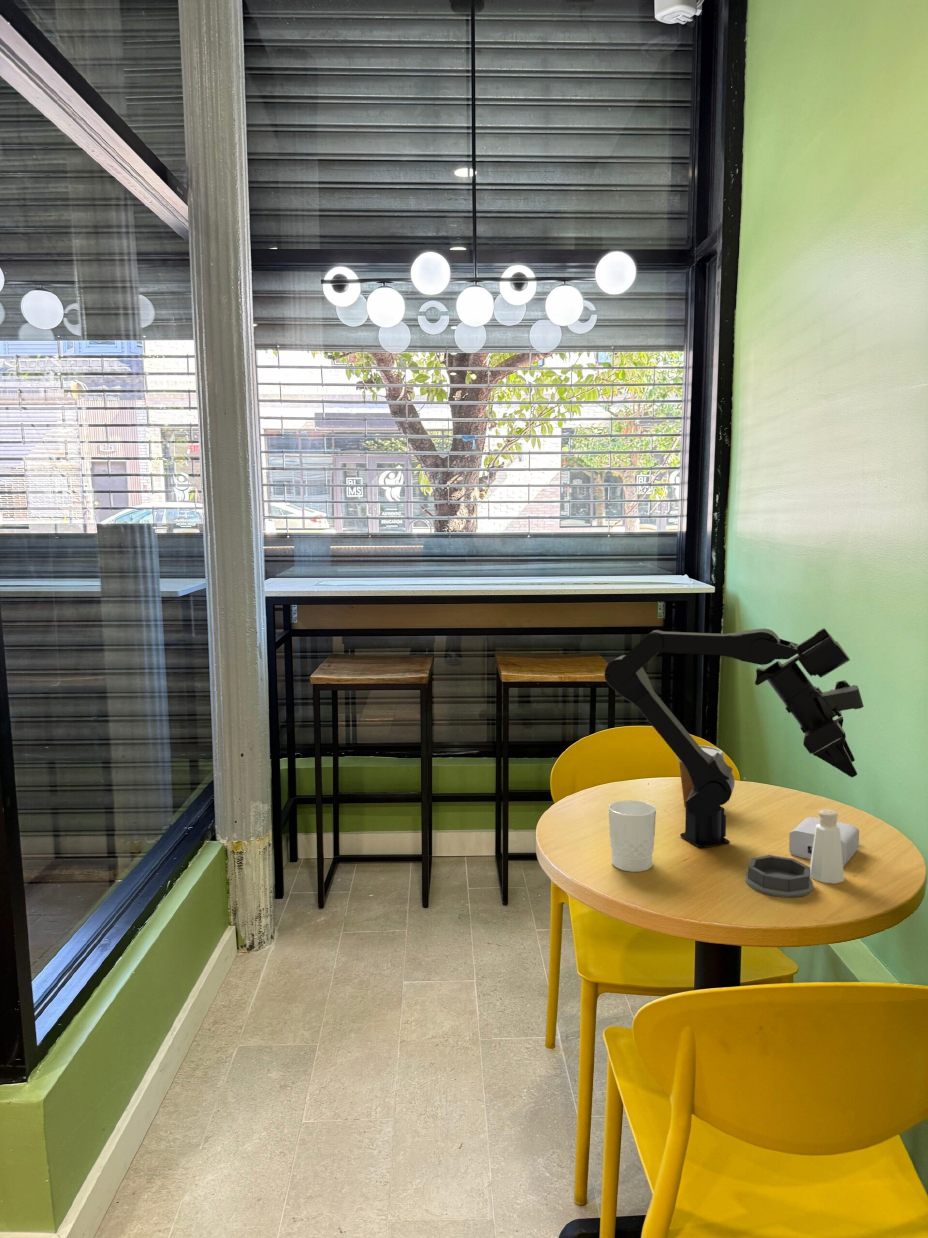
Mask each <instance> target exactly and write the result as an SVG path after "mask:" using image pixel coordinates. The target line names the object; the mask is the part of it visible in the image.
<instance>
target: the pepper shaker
mask: <svg viewBox="0 0 928 1238" xmlns="http://www.w3.org/2000/svg"><path fill="white" fill-rule="evenodd" d="M818 815H819V816H818V818H819V820H820V822H819V824H817V825H816V828H815V835H814V842H813V849H812V856H811V859H810V865H809V867H810V879H813V880H815V881H817V882H820V883H824V884H833V885H836V884H838V883H839V884H840V883H842V882H844V881H845V876H844V875H845V874H844V873H845V872H844V866H843V861H842V848H841V835H840V829H839V827H838V826H837V822H838V816H839V814H838V812H837V811H835V810H833V809H821V810H819V811H818Z"/></svg>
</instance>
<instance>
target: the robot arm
mask: <svg viewBox="0 0 928 1238" xmlns="http://www.w3.org/2000/svg"><path fill="white" fill-rule="evenodd" d="M661 653H662V654H676V655H677V654H679V655H697V656H698V655H702V656H718V657H719V656H721V657H722V656H723V657H727V658H731V659H735V660H737V661H740V662H745V663H750V664H753V665H755V664H756V665H760V666H764V665H769V666H767V667H766V668H761V667H757V668H756V670H755V672H756V675H755V676H756V679H755V682H754V684H755V685H756V686H759V685H761V684H763V683H764V682H766V681H767V682H768V684H769V686H771V687H772V689H773V691H774V692H775V693H776V695H777V696H778V698H779V699H780V700H781V702H782V703H783V704H784V705H785V708H784V709H785V710H786V711H787V713H788V714H791V715H792V716H793V718H794V719H795V720H796V722H797V723H798V724H799V728H800V730H801V731H802V733H803V734H804V736H803V740H802V741H803V742H802V743H803V747H804V748H805V749H806V750H807V752H808V753H809V754H810V755H813V756H815V757H817V758H818V759H821V760H822V761H824V762H825V763H827V764H829V765H831V766H832V767H834V768H836V769H837V770H839V771H840V772H842V773H843V774H846V775H847V776H848V777H850V778H854V777H857V776H858V772H857V770H856V768H855V766H854V764H853V763H854V762H855V761H856V760H855V757H854V755H853V753H852V750H851V748H850V746H849V744H848V741H847V739H846V737H847V735H846V732H845V731H844V729H843V725H844V716H843V714H842V711H847V710H848V711H849V710H859V709H863V708H864V702H863V700H862V696H861V691H860V689H859V686H858V685H855V684H852V685H850V684H849V682H848V681H846V680H845V679H843V680H838V681H836V682H835V686H834V689H833V688H832V689H830V690H827V691H822V690H821V689H820V687H819V686H816V685H813V683H812V682H811V680H810V679H809V678H808V677H807V675H806V674H805V673H804V671H803V670H802V668H801V667H800V666H799V664H798V663H797V662H799V663H800V664H801V666H802V667H803V669H804V670H805V671H806V673H807V674H808V675H809V676H810V677H812V676H814V677H816V676H818V677H819V679H821V678H823V677H825V676H827V675H828V674H830V673H831V672H834V671H835V670H836V669H838V668H840V667H842V666H843V665H845V664H846V663H848V662H851V658H850V657H849V656H848V654H847V652H845V650H844V648H843V647H842V645H841V644H840V643H839V642H838V641H837V640H835V639H834V638H833V636H832V635H831V634H830V633H829V632H828V630H827V629H826V628H824V627H822V628H821V629H819V630H818V631H816V633H815V634H814V635H812V636H810V637H809V638H807V639H804V641H802V642H801V643H799V644H798V643H795V642H793V641H788V640H785V639H782V638H780V637H779V636H778V634H777V633H776V632H775V631H774V630H771V629H769V628H756V629H751V630H750V629H749V630H748V629H747V630H741V631H736V632H730V633H712V632H711V633H710V632H684V631H683V632H682V631H664V630H660V629H656V630H654V629H653V630H652V631H651V632H649V633H647V634H646V635H645V636H644V639H642V640H641V641H640V642H638V644H637V645H636V646H635V647H633V649H631V650H630V651H629V652H627V654H623V655H620V656H618V657H617V658H615V659H613V660H611V661H610V662H608V664H606V667H605V669H604V681H605V682H606V683H607V685H608V686H609V687H610V688H612V690H613V691H615V692H616V693H617V694H618V695H619V696H621V697H622V698H623V699H625V700H627V701H628V702H630V703H632V704H633V705H634V706H636V708H637V709H638V710H639V711H640V712H641V714H642V715H643V716H644V717H645V719H647V721H648V722H649V724H650V725H651V727H653V728H654V730H655V732H657V734H659V737H661V739H662V740H663V741H664V742H665V743H666V745H668V748H670V749H671V750H672V751H673V754H675V756H676V758H677V757H678V758H679V759H680V760H681V761H682V763H683V764H684V765H685V767H686V769H687V772H688V774H689V776H690V779H691V781H692V784H693V785H694V788H692V790H691V792H690V794H689V797H688V799H687V801H686V808H685V825H684V826H685V828H684V829H685V830H684V831H685V832H681V833H680V835H679V836H680V837H681V838H683V839H684V840H686V841H687V842H690V844H692V845H694V846H696V847H698V848H709V847H714V846H721V845H727V844H730V840H729V839H728V838H726V836H727V815H726V814H725V807H723V806H724V805H725V804H727V803H728V802H729V800H730V799H731V796H732V794H733V791H734V787H735V776H734V774H733V773H732V772H733V767H731V766H729V765H728V764H727V763H726V762H725V760H723V758H722V757H721V755H720V754H719V753H716V754H715V755H714V756H713V757H712V756H711V755H709V754H707V753H706V752H704V751H703V750H702V749H701V748H700V746H699V743H698V742H697V741H696V740H695V739H694V738H693V736H692V735H691V734H690V733H689V731H687V729H686V728H685V727H684V726H683V724H682V723H681V722H680V720H679V719H678V718H677V717H676V716H675V715H674V714H673V712H672V711H671V710H670V708H669V707H668V706H667V705H666V704H665V703H664V701H663V700H662V699H661V698H660V697H659V695H657V693H656V692H655V691H654V688H653V685H652V683H651V681H650V678H649V675H648V674H647V673H646V671H645V669H644V668H645V666H646V665H648V664H649V663H650V661H652V660H653V659H654V658H655V657H656V656H657V655H658V654H661ZM775 660H777V661H775ZM779 660H787V661H786V662H783V663H782V662H781V661H779ZM774 661H775V662H774ZM772 662H773V663H772ZM771 663H772V664H771ZM770 664H771V665H770ZM835 717H838V718H836V719H835ZM678 758H677V759H678Z"/></svg>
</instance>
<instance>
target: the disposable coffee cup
mask: <svg viewBox="0 0 928 1238" xmlns="http://www.w3.org/2000/svg"><path fill="white" fill-rule="evenodd" d="M698 745H699V744H698ZM699 746H700V748H701V749H702V750H703V751H704V752H706V753H707V754H709V755H711V756H712V757H713V756H714V755H715V754H716V753H719V754H720V755H721V757H722V758H723V760H724V761H725V760H726V757H725V756H724V752H723V750H721V749H720V748H718V747H713V746H708V745H699ZM676 758H677V761H679V762H678V763H679V764H678V765H679V772H680V781H681V790H682V798H683V807H684V808H685V809H686V801H687V799H688V797H689V794H690V792H691V790H692V788H694V785H693V784H692V781H691V779H690V776H689V774H688V772H687V769H686V767H685V765H684V764H683V763H682V761H681V760H680V759H679V758H678V757H677V756H676Z"/></svg>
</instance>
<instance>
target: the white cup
mask: <svg viewBox="0 0 928 1238" xmlns="http://www.w3.org/2000/svg"><path fill="white" fill-rule="evenodd" d="M656 815H657V808H656V806H654V805H653V804H652V803H648V802H645V801H640V800H630V799H629V800H628V799H627V800H618V801H614V802H612V803H609V805H608V820H609V821H608V823H609V839H610V841H609V842H610V849H611V864H612V865H613V866H614V867H615V868H616V869H619V870H621V871H625V872H634V873H636V872H644V871H648V870H649V869H651V868H652V866H653V865H652V864H653V852H654V850H655V849H654V845H655V835H656V817H657V816H656Z"/></svg>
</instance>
